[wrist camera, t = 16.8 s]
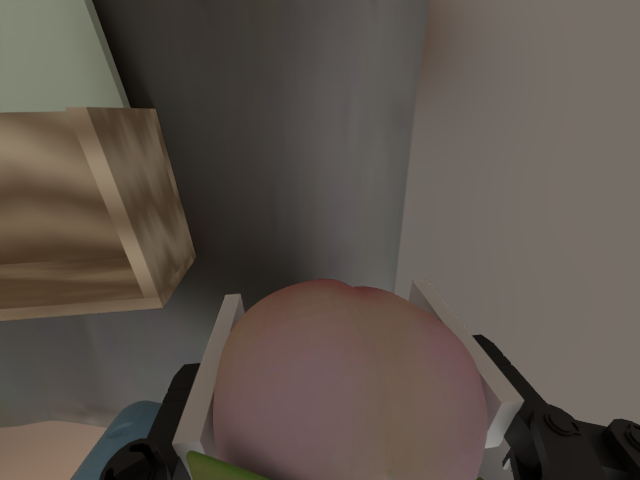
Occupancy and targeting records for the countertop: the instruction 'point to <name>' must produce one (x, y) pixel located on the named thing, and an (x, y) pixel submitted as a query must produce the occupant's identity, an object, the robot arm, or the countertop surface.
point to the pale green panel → (55, 58)
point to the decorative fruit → (344, 392)
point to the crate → (88, 213)
